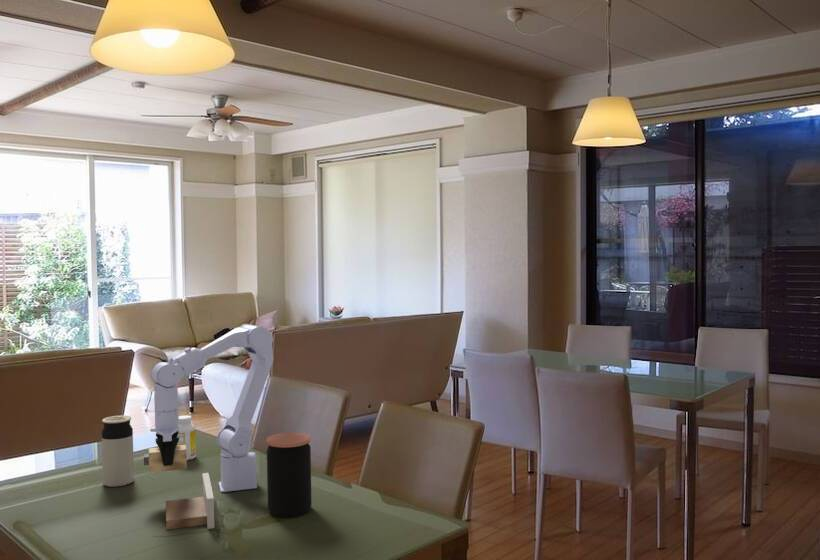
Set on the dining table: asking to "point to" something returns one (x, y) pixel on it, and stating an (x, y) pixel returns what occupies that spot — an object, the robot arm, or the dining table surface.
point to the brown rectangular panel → (185, 513)
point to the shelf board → (208, 500)
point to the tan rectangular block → (157, 465)
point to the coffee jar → (289, 474)
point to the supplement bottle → (187, 436)
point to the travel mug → (117, 451)
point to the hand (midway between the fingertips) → (167, 462)
